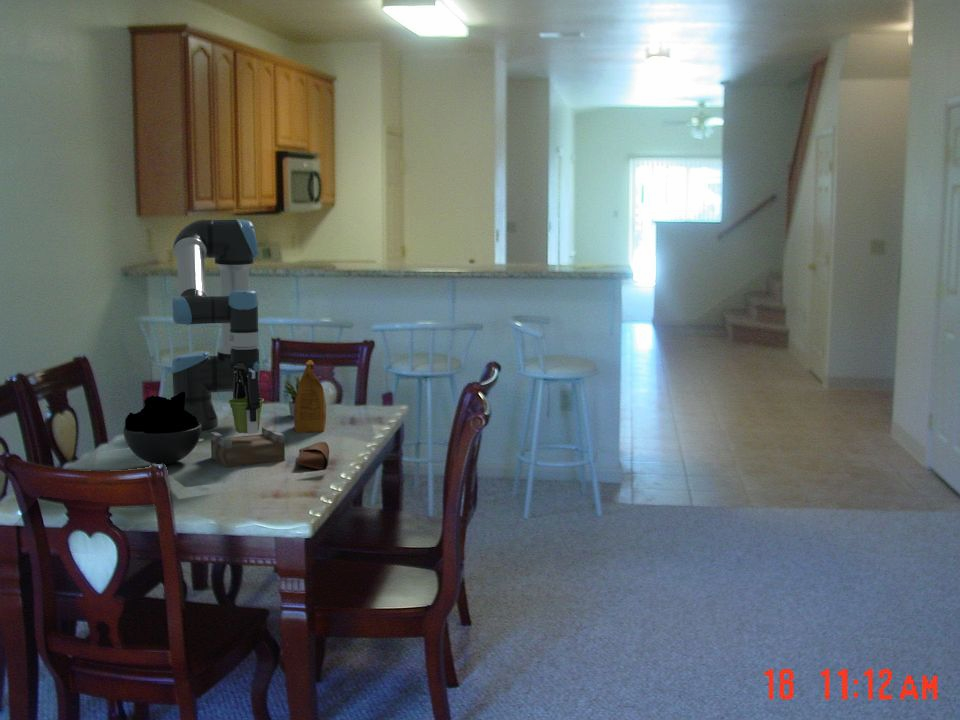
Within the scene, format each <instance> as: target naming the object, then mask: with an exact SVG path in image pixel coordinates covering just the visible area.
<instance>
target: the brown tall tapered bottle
mask: <svg viewBox="0 0 960 720" xmlns="http://www.w3.org/2000/svg"><path fill="white" fill-rule="evenodd" d="M304 364H305V366H306V367H305V369H304V371H303V374H302V375H301V378H300V379H299V381H300V383H299V387H298V391H296V393H297V394H296V400H295V409H294V417H293V423H294V424H293V425H294V427H293V428H294V431H295V432H296V433H298V434H305V433H306V434H307V433H308V434H309V433H324V432H325V428H326V422H327V403H326V397H325V391H324V386H323V385H322V383H321V382H320V381H319V378H317V375H316V374H315V373H314V371H313V370H314V369H315V368H316V367H315V363H314V362H313V360H311V359H309V360H307V361H306V362H305V363H304Z"/></svg>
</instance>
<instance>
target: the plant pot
mask: <svg viewBox="0 0 960 720" xmlns="http://www.w3.org/2000/svg"><path fill="white" fill-rule="evenodd" d="M259 399H260V408H258V409H257V425H258V432H259V430H260V423H261V412H262V407H263V402H264V401H265V399H264V398H261V397H259ZM228 403H229V405H230V408H231V411H232V416H233V417H232V418H233V423H234V428H235V432H237V433H239V434H247V414H246V410H245V408H246V407H247V400H246V398H243V399H233V398H231V399H229V400H228ZM253 404H255V403H253Z"/></svg>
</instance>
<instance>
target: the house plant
mask: <svg viewBox="0 0 960 720" xmlns="http://www.w3.org/2000/svg"><path fill="white" fill-rule="evenodd" d="M289 373H290V372H289ZM290 375H292V377H293V378H294V380H295V388H294V385H293V384H292V383H291V381H290V380H288V379H287V378H286V377H283V376H282V377H281V378H283V380H282V382H284V383H283V384H284V387H285V389H286V390H282V392H283V393H287V394H290V396H289V395H287V394H285V395H284V397H290V398H291V400H292V401H291V400H290V401H288V402H287V403H288V407H289V409H288V410H289V413H290V414H289V415H290V416H291V417H292V418H294V409H295V400H296V394H297V391H298V387H299V383H300V376H299V375H298V373H296V375H297V376H295V375H293V374H292V373H290ZM316 377H317V376H316ZM319 378H320V376H318V377H317V379H319Z"/></svg>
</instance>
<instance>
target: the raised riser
mask: <svg viewBox="0 0 960 720" xmlns="http://www.w3.org/2000/svg"><path fill="white" fill-rule="evenodd" d="M285 448H286V447H285V434H284V433H283V434H282V433H281V432H279V431H277V430H275V429H272V428H270V427H268V426H262V427H261V434H248V435H241V436H231V437H227V436H224V435H222V434H221V433H219V432H217V431H213V432H212V431H211V432H210V453H211V454H210V455H211V457H210V458H212V459H214V461H216V462H218V463H220V464H221V465H223V466H224V467H226V468H232V467H240V466H247V465H249V466H250V465H256V464H266V463H274V462H280V461H286V457H285V455H286V454H285V453H286V451H285Z"/></svg>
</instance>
